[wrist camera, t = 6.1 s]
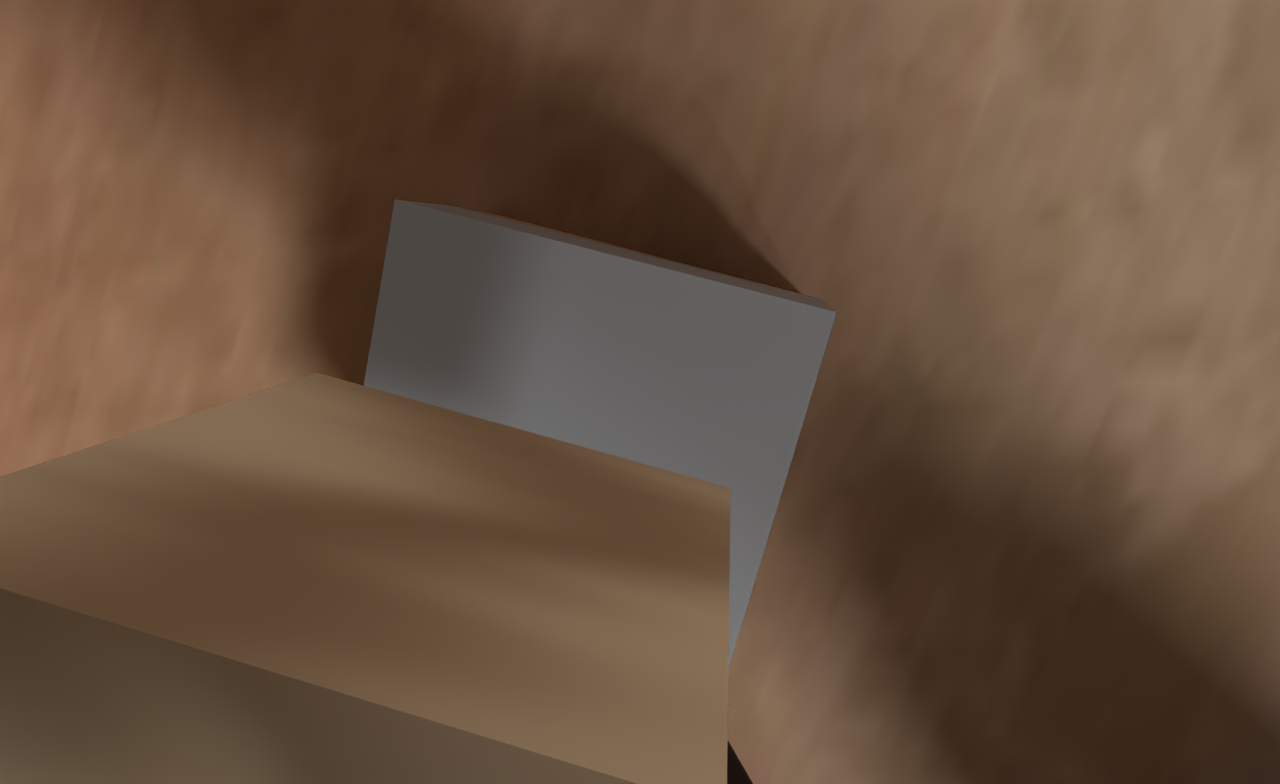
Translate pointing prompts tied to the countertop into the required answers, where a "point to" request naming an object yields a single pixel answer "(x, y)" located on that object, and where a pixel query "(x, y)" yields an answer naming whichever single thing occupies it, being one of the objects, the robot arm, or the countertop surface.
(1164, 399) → the countertop surface
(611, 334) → the slate block
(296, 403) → the birch cube
